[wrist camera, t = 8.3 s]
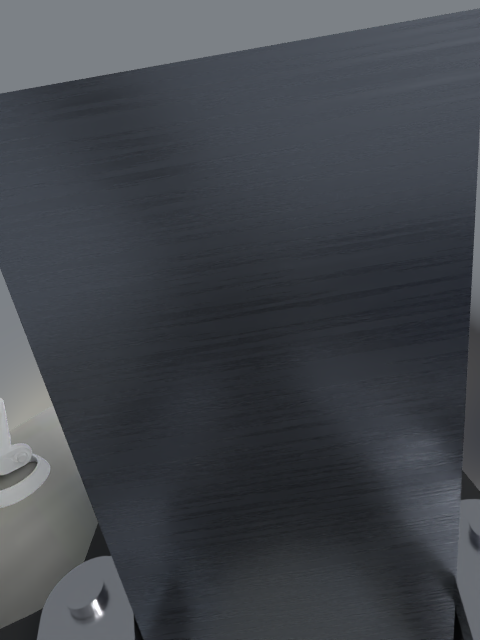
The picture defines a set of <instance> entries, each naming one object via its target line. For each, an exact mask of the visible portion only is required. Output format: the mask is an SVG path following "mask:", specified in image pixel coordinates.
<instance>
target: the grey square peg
mask: <svg viewBox="0 0 480 640" xmlns="http://www.w3.org/2000/svg"><path fill="white" fill-rule="evenodd" d="M479 129H480V8H479V9H473V10H468V11H462V12H457V13H451V14H445V15H440V16H435V17H428V18H423V19H418V20H412V21H406V22H400V23H395V24H390V25H384V26H379V27H372V28H367V29H361V30H355V31H351V32H345V33H339V34H333V35H328V36H322V37H316V38H311V39H306V40H300V41H294V42H288V43H282V44H277V45H271V46H266V47H260V48H254V49H249V50H243V51H237V52H232V53H227V54H221V55H215V56H209V57H204V58H198V59H193V60H187V61H181V62H176V63H170V64H165V65H159V66H153V67H148V68H142V69H137V70H131V71H126V72H120V73H114V74H109V75H103V76H97V77H92V78H86V79H81V80H75V81H69V82H63V83H58V84H52V85H46V86H41V87H36V88H30V89H24V90H19V91H13V92H7V93H2V94H0V269H1V271H2V274H3V277H4V279H5V282H6V284H7V287H8V290H9V292H10V295H11V297H12V300H13V302H14V305H15V308H16V310H17V313H18V315H19V318H20V321H21V323H22V326H23V328H24V331H25V333H26V336H27V339H28V341H29V344H30V346H31V349H32V352H33V354H34V357H35V359H36V362H37V365H38V367H39V370H40V372H41V375H42V378H43V380H44V383H45V385H46V388H47V391H48V393H49V396H50V398H51V401H52V403H53V406H54V409H55V411H56V414H57V416H58V419H59V422H60V424H61V427H62V429H63V432H64V435H65V437H66V440H67V442H68V445H69V447H70V450H71V453H72V455H73V458H74V460H75V463H76V466H77V468H78V471H79V473H80V476H81V479H82V481H83V484H84V486H85V489H86V492H87V494H88V497H89V499H90V502H91V504H92V507H93V510H94V512H95V515H96V517H97V520H98V523H99V525H100V528H101V530H102V533H103V536H104V538H105V541H106V543H107V546H108V548H109V551H110V554H111V556H112V559H113V561H114V564H115V567H116V569H117V572H118V574H119V577H120V580H121V582H122V585H123V587H124V590H125V592H126V595H127V598H128V600H129V603H130V605H131V608H132V611H133V613H134V616H135V618H136V621H137V624H138V626H139V629H140V631H141V634H142V637H143V639H144V640H453V637H454V618H455V605H454V601H453V592H454V575H457V559H458V540H459V520H460V501H461V481H462V460H463V442H464V422H465V403H466V383H467V382H466V381H467V364H468V344H469V324H470V305H471V304H470V303H471V285H472V266H473V265H472V264H473V246H474V227H475V207H476V188H477V187H476V186H477V167H478V149H479V148H478V147H479Z"/></svg>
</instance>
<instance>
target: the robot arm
mask: <svg viewBox="0 0 480 640" xmlns="http://www.w3.org/2000/svg"><path fill="white" fill-rule="evenodd" d="M453 601H454V605H455V618H454V637H453V640H480V491H479V490H478V489H477V488H476V486H475V485H474V484H473V483H472V481H471V480H470V479H469V478H468V477H467V475H466V474H465V473H464V472H463V470H462V481H461V501H460V520H459V540H458V559H457V575H454V592H453ZM0 640H144V639H143V637H142V634H141V631H140V629H139V626H138V624H137V621H136V618H135V616H134V613H133V611H132V608H131V605H130V603H129V600H128V598H127V595H126V592H125V590H124V587H123V585H122V582H121V580H120V577H119V574H118V572H117V569H116V567H115V564H114V561H113V559H112V556H111V554H110V551H109V548H108V546H107V543H106V541H105V538H104V536H103V533H102V530H101V528H100V525H99V523H98V525H97V528H96V531H95V534H94V536H93V539H92V542H91V545H90V547H89V550H88V553H87V556H86V558H85V561H84V562H83V563H82V564H80V565H78V566H76V567H75V568H74V569H72V570H71V571H70V572H68V573H67V574H66V575H65V576H64V577H63V578H62V579H61V580H60V581H59V582H58V583H57V584H56V586H55V587H54V589H53V590H52V591H51V593H50V595H49V596H48V598H47V600H46V602H45V605H44V607H43V608H42V609H41V610H39V611H37V612H35V613H33V614H31V615H29V616H27V617H25V618H23V619H21V620H19V621H16V622H14V623H12V624H10V625H8V626H6V627H4V628H2V629H0Z"/></svg>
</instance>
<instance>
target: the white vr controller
mask: <svg viewBox="0 0 480 640" xmlns="http://www.w3.org/2000/svg"><path fill="white" fill-rule="evenodd" d="M28 462H37V465H36V468H35V469H34V470H33V472H32V473H31V474H30V475H29V476H27V477H26V478H25V479H23V480H22V481H21V482H19V483H17V484H15V485H13V486H11V487H9V488H6V489H4V490H0V508H3V507H6V506H9V505H12V504H14V503H17V502H19V501H21V500H23V499H24V498H26V497H27V496H29V495H30V494H32V493H33V492H34V491H36V490H37V489H38V488H39V487H40V486H41V485H42V484H43V483H44V482H45V480H46V479H47V477H48V476H49V473H50V468H51V467H50V464H49V463H48V462H47V461H46V460H45V459H44V458H42V457H40V456H38V455H36V454H33V453H32V449H31V447H30V446H29V445H27V444H25V443H18V444H14V445H11V436H10V434H9V429H8V423H7V416H6V411H5V405H4V401H3V399H1V398H0V475H6V474H8V473H10V472H12V471H14V470H16V469H18V468H20V467H22V466H24V465H26V464H27V463H28Z"/></svg>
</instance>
